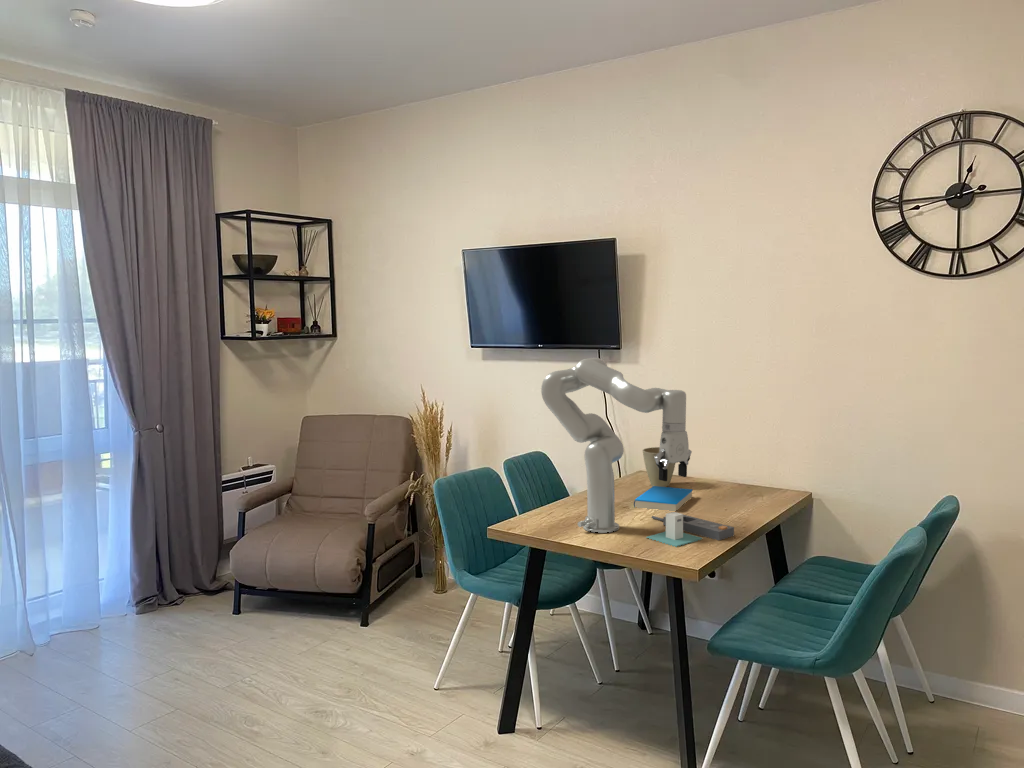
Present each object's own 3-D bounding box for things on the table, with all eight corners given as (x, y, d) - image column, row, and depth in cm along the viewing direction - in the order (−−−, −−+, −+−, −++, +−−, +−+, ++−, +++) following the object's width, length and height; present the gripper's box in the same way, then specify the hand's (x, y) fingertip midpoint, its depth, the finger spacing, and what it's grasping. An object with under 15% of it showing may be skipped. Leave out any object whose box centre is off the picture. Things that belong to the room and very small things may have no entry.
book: (692, 489, 307) (677, 502, 285) (692, 499, 307) (677, 513, 285) (651, 485, 315) (633, 498, 292) (651, 495, 315) (633, 509, 293)
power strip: (734, 535, 253) (734, 525, 253) (719, 540, 249) (719, 529, 248) (659, 516, 280) (659, 507, 279) (644, 520, 275) (644, 510, 274)
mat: (676, 547, 242) (676, 545, 242) (646, 538, 253) (646, 536, 253) (702, 539, 250) (702, 537, 250) (671, 531, 261) (671, 529, 261)
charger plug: (675, 540, 249) (675, 516, 248) (665, 537, 252) (665, 513, 251) (683, 537, 251) (683, 514, 250) (673, 534, 254) (673, 511, 254)
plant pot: (640, 482, 336) (639, 447, 335) (673, 482, 336) (673, 446, 335) (645, 490, 321) (645, 453, 320) (680, 489, 321) (680, 452, 320)
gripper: (665, 431, 240) (664, 484, 242) (699, 426, 250) (698, 476, 252) (647, 428, 246) (646, 480, 248) (682, 423, 256) (681, 472, 258)
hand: (672, 478), depth 250 cm, fingers open, 9 cm apart
